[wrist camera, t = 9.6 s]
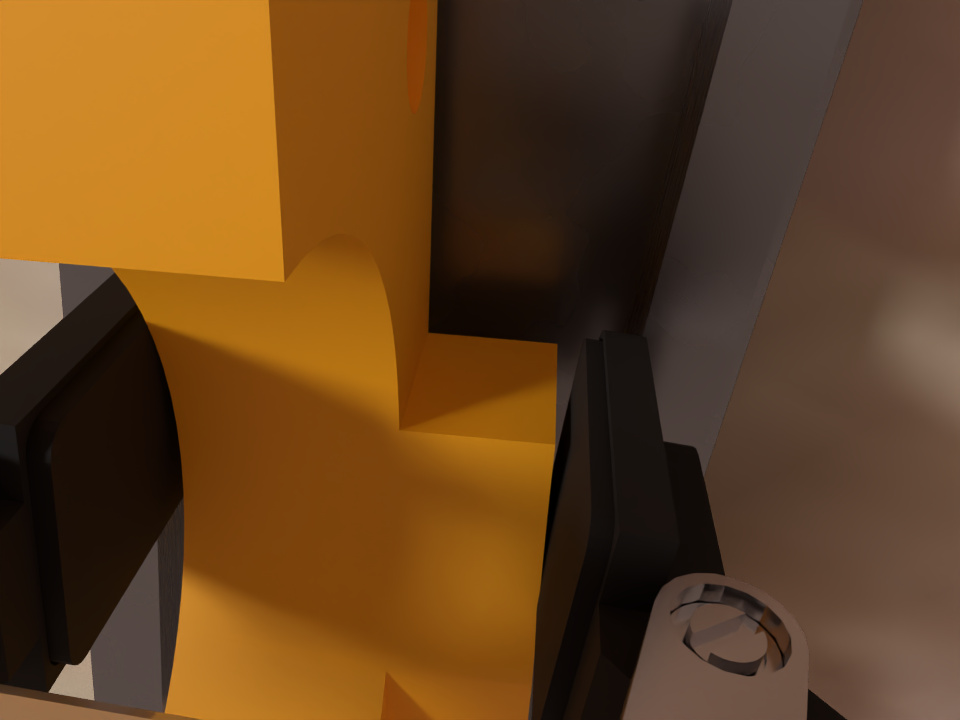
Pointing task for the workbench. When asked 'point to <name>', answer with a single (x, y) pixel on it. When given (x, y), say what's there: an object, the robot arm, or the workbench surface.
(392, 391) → the pipe clamp
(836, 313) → the workbench surface
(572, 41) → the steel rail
